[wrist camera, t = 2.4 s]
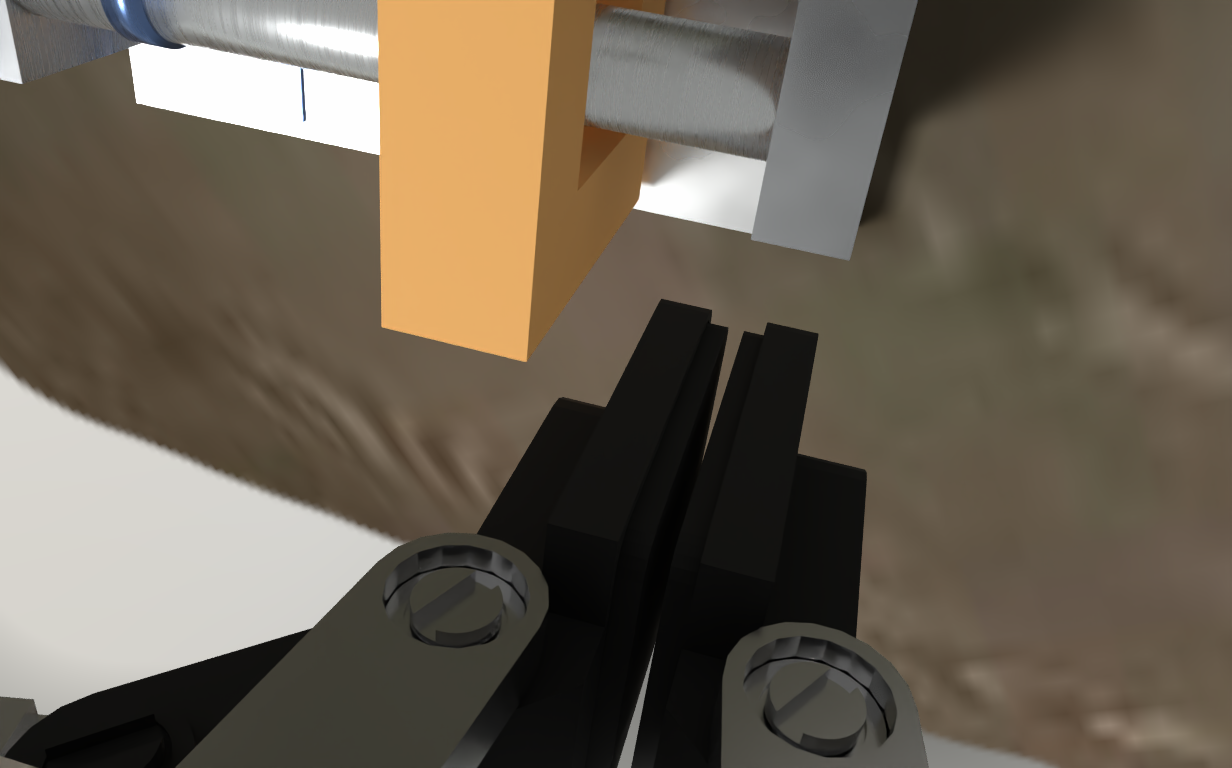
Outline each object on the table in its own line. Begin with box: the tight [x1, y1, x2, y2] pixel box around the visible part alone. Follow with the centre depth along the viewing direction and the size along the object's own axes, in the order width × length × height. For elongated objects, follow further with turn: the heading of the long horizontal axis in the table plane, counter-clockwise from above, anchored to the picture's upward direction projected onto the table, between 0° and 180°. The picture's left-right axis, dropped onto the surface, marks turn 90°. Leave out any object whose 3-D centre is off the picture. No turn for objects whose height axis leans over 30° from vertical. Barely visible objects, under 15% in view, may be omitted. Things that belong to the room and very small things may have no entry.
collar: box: [377, 0, 666, 362], centre depth 21 cm, size 3×9×9 cm, turn 173°
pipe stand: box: [0, 0, 918, 261], centre depth 24 cm, size 21×10×8 cm, turn 83°
